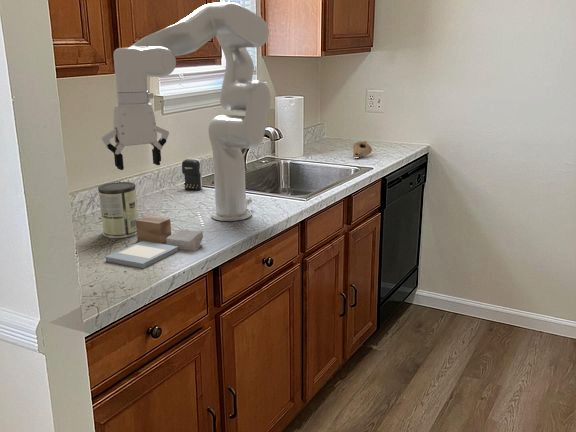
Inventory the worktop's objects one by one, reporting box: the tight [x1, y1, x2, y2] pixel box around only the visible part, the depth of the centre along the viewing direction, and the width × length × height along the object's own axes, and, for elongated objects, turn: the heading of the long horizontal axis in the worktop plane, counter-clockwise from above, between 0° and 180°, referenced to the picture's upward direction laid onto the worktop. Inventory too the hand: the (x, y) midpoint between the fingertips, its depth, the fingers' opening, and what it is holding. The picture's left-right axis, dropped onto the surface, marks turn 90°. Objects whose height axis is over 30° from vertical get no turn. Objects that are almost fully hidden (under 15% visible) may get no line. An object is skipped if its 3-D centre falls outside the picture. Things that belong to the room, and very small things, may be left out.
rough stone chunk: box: [165, 228, 204, 252], centre depth 162 cm, size 10×6×6 cm, turn 55°
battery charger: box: [181, 158, 203, 191], centre depth 224 cm, size 7×4×11 cm, turn 67°
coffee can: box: [97, 181, 139, 239], centre depth 172 cm, size 10×10×14 cm
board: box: [105, 241, 179, 269], centre depth 155 cm, size 14×12×1 cm
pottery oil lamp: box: [352, 140, 373, 158], centre depth 281 cm, size 9×12×7 cm
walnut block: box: [136, 215, 172, 244], centre depth 167 cm, size 5×8×6 cm, turn 63°
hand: (138, 166), depth 154 cm, fingers open, 9 cm apart
